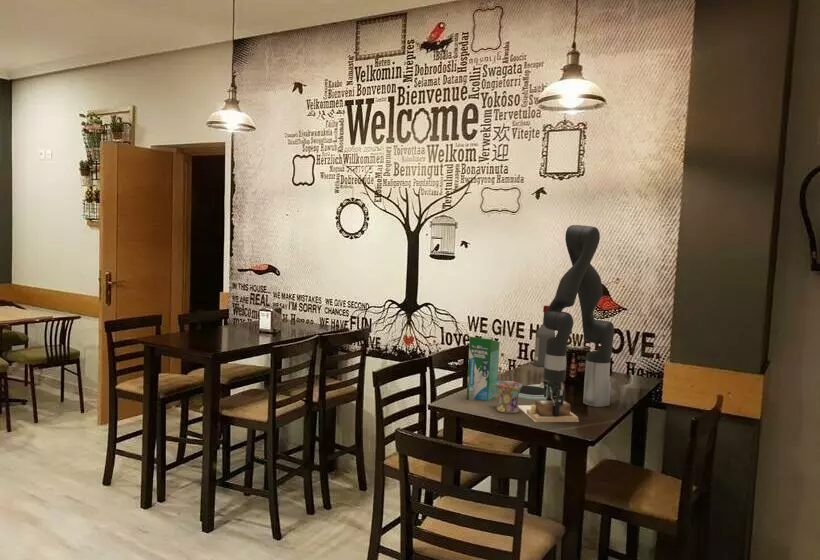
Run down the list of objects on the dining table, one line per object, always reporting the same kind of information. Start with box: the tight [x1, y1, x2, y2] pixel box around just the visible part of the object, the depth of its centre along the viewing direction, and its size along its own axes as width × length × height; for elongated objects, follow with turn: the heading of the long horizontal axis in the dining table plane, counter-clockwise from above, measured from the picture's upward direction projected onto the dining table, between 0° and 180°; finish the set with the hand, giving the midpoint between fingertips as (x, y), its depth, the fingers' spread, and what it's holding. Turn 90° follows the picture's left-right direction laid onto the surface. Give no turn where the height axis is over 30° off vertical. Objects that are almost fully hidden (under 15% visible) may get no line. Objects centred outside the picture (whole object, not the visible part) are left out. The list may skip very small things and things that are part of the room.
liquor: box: [533, 305, 556, 368], centre depth 317 cm, size 9×9×30 cm
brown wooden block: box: [534, 399, 572, 416], centre depth 227 cm, size 11×6×4 cm, turn 99°
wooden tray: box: [518, 404, 580, 423], centre depth 232 cm, size 16×20×6 cm
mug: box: [491, 380, 523, 414], centre depth 235 cm, size 12×9×11 cm
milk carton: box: [466, 335, 500, 401], centre depth 251 cm, size 9×9×25 cm
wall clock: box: [518, 382, 546, 401], centre depth 262 cm, size 18×4×25 cm
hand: (552, 413), depth 227 cm, fingers closed on brown wooden block, 5 cm apart
